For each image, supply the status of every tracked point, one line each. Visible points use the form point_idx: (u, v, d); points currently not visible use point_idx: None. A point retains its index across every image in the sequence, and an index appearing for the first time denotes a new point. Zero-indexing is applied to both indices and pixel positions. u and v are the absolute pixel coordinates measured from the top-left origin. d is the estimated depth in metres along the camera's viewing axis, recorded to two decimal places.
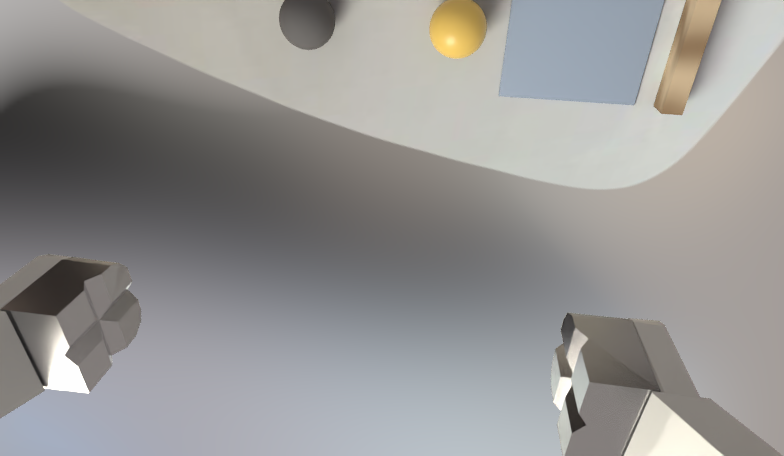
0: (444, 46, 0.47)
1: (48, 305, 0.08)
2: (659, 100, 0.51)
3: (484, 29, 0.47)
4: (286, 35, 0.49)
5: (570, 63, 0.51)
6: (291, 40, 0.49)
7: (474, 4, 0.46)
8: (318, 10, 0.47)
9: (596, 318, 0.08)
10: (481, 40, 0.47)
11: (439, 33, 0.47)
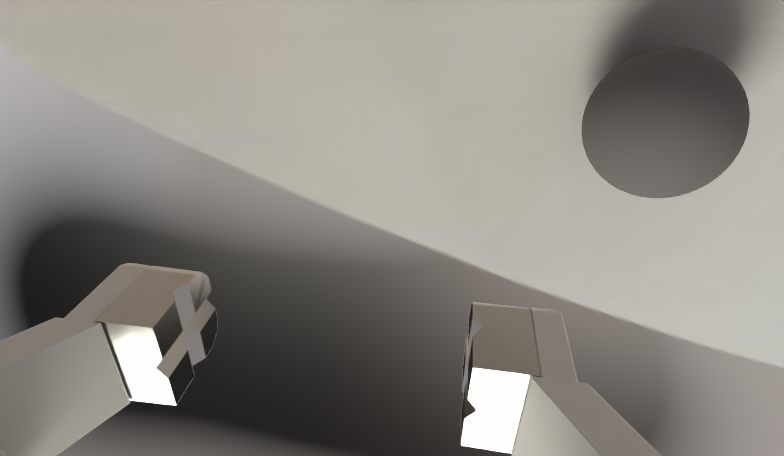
0: None
1: (142, 317, 0.08)
2: None
3: None
4: (617, 170, 0.18)
5: None
6: (628, 182, 0.18)
7: None
8: (741, 111, 0.16)
9: (496, 307, 0.08)
10: None
11: None
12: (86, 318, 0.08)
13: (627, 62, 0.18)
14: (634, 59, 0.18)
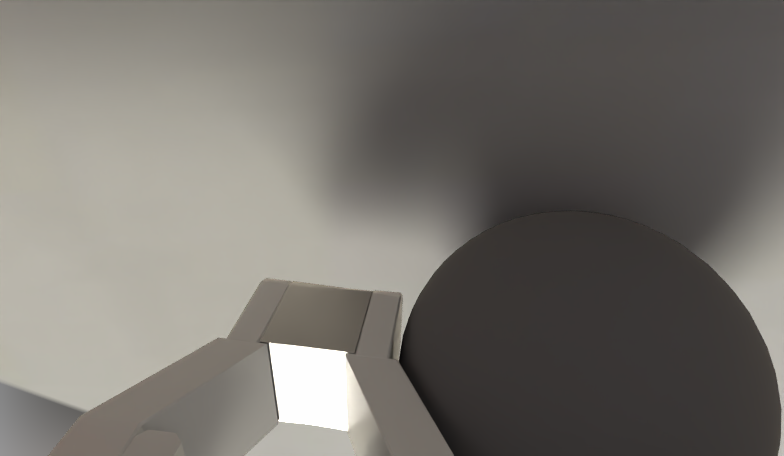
0: None
1: (306, 336, 0.07)
2: None
3: None
4: None
5: None
6: None
7: None
8: (774, 401, 0.06)
9: (339, 290, 0.08)
10: None
11: None
12: (250, 338, 0.07)
13: (460, 293, 0.07)
14: (476, 285, 0.07)
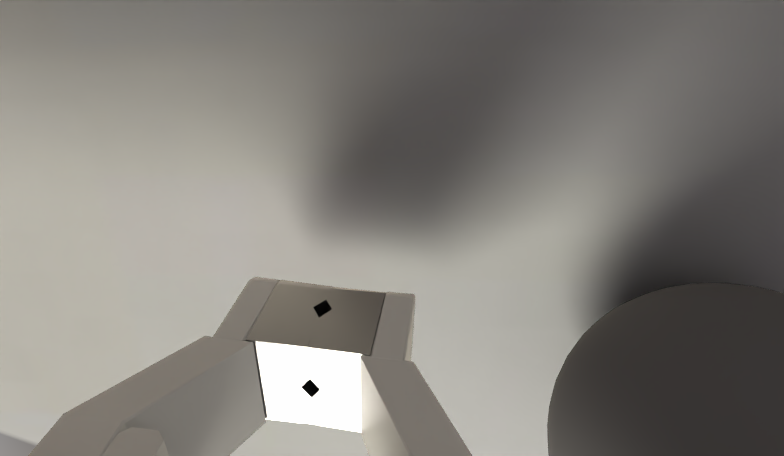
0: None
1: (292, 335, 0.07)
2: None
3: None
4: None
5: None
6: None
7: None
8: (640, 296, 0.09)
9: (352, 291, 0.08)
10: None
11: None
12: (236, 336, 0.07)
13: None
14: None
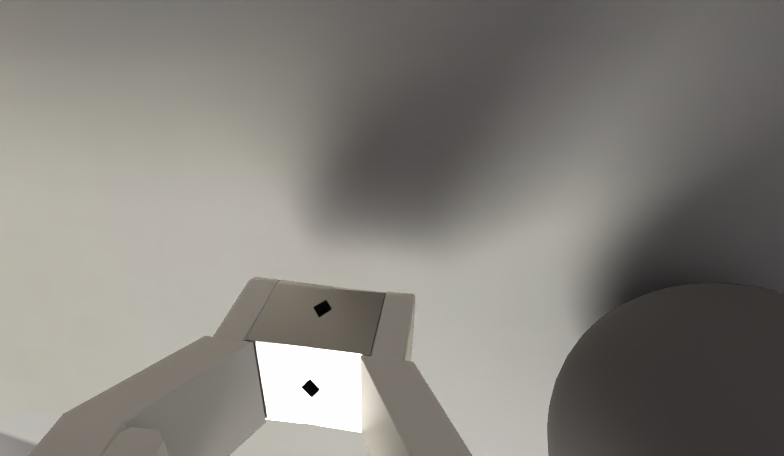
0: None
1: (292, 335, 0.07)
2: None
3: None
4: None
5: None
6: None
7: None
8: (640, 296, 0.09)
9: (352, 291, 0.08)
10: None
11: None
12: (236, 336, 0.07)
13: None
14: None
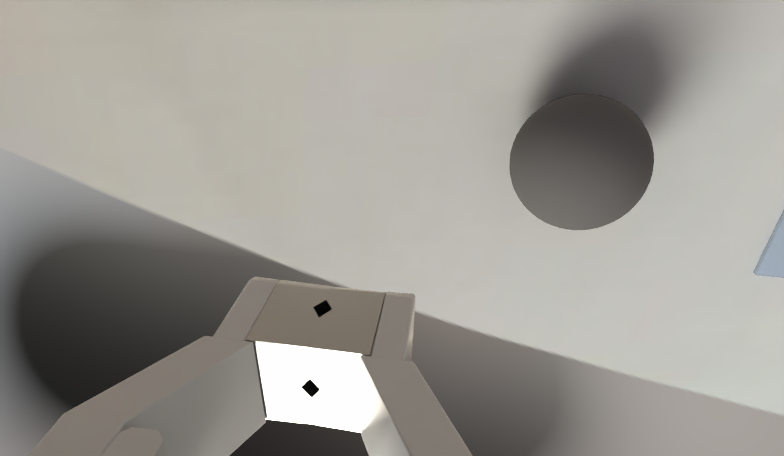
0: None
1: (293, 335, 0.07)
2: None
3: None
4: None
5: None
6: None
7: None
8: None
9: (352, 291, 0.08)
10: None
11: None
12: (236, 336, 0.07)
13: (644, 128, 0.19)
14: (640, 122, 0.19)
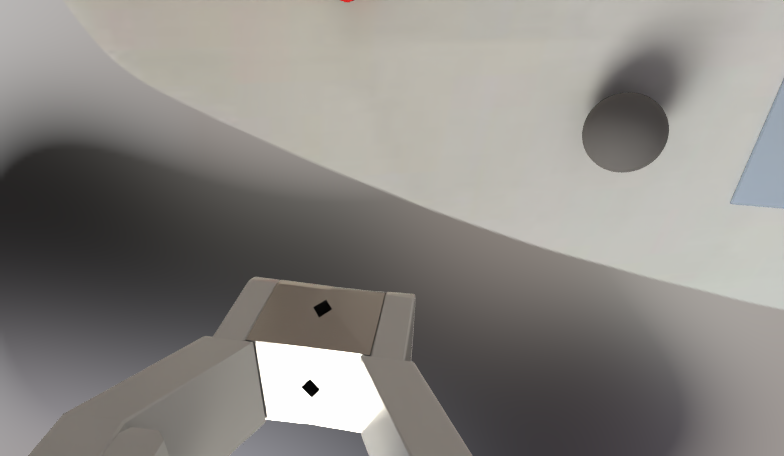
0: None
1: (293, 335, 0.07)
2: None
3: None
4: None
5: None
6: None
7: None
8: None
9: (352, 291, 0.08)
10: None
11: None
12: (236, 336, 0.07)
13: (663, 112, 0.33)
14: (661, 108, 0.33)
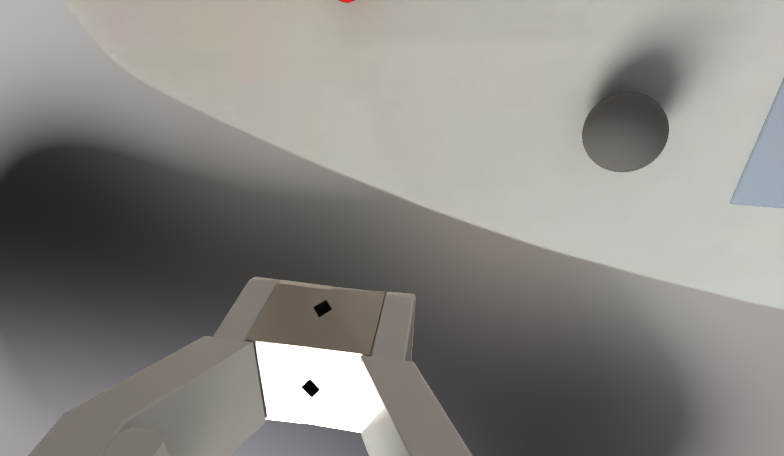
0: None
1: (293, 335, 0.07)
2: None
3: None
4: None
5: None
6: None
7: None
8: None
9: (352, 291, 0.08)
10: None
11: None
12: (236, 336, 0.07)
13: (663, 111, 0.33)
14: (661, 108, 0.33)
